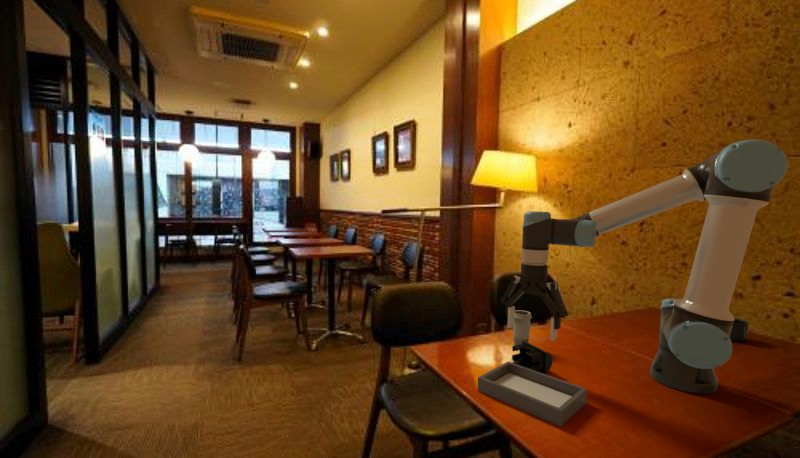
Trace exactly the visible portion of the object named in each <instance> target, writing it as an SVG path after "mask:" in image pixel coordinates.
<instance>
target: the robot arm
mask: <svg viewBox="0 0 800 458" xmlns="http://www.w3.org/2000/svg"><path fill="white" fill-rule="evenodd" d="M787 170H788V158H787V156H786V154H785V152H784V151H783V150H782V149H781V148H780V147H779V146H777V145H776V144H774V143H773V142H770V141H767V140H763V139H744V140H741V141H740V140H739V141H736V142H733V143H730V144H729V145H727V146H725V147H724V148H722V149H721V150H719V151H717V152H716V153H714V154H712V155H711V156H709V157H708V158H706V159H704V160H702V161H701V162H699V163H697V164H694V165H693V166H690V167H688V168H685V169H684V170H683V172H682V174H680V175H678V176H676V177H674V178H671V179H668V180H666V181H664V182H660V183H659V184H655V185H653V186H650V187H649V188H646V189H643V190H642V191H639V192H637V193H634V194H631V195H629V196H626V197H624V198H621V199H619V200H616V201H614V202H612V203H608V204H606V205H603V206H602V207H599V208H597V209H594V210H592V211H589V212H587V213H584V214H582V215H580V216H576V217H574V218H570V219H569V218H567V219H566V218H565V219H562V218H552V215H551V212H549V211H538V210H534V211H533V210H532V211H529V210H528V211H526V212H525V213H524V215H523V223H522V237H521V238H522V239H521V241H522V242H521V257H520V261H521V262H522V263H521V264H520V276H518V275H512V276H511V277H510V280H509V281H510V282H509V284H508V286H507V288H506V289H505V292H504V294H503V295H502V297H501V299H500V304H503V305H504V306H505V317H507V324H506V325H507V326H506V327H507V328H508V329H511V328H513V327H514V315H515V311H516V306H515V305H514V304H515V303H516V302H517V301H518V300H520V299H521V297H522V296H524V294H525V293H526V294H528V295H530V294H531V295H533V296H538V297H539V298H540V299H542V301H543V303H544V304H545V306H546V307H547V309H548V311H549V312H550V313H551V314H552V317H550V330H549V331H550V333H549V341H552V342H553V341H554V340H556V339H557V337H558V335H557V333H558V330H559V329H561V322H562V321H561V320H562V319H565V318H566V317H567V316H569V313H568V311H567V308H566V305H565V303H564V300H563V298H562V295H561V292H560V291H559V283H558V282H548V273H549V271H548V270H549V266H548V265H547V264H548V262H549V248H550V245H551V246H553V245H554V246H556V245H558V246H569V247H579V248H585V247H586V248H592V247H594V246H595V244H596V240H597V238H596V237H598V236H600V235H603V234H605V233H608V232H611V231H614V230H616V229H620V228H622V227H625V226H628V225H630V224H633V223H636V222H638V221H642V220H644V219H647V218H649V217H652V216H654V215H657V214H660V213H663V212H665V211H668V210H672V209H675V208H676V207H679V206H683V205H684V204H687V203H690V202H693V201H699V202H704V201H707V202H708V204H709V206H708V209H707V212H706V216H705V219H704V222H703V227H702V231H701V234H700V238H699V242H698V244H697V248H696V252H695V256H694V260H693V264H692V267H691V270H690V274H689V278H688V283H687V285H686V288H685V289H686V290H685V293H684V296H683V297H682V298H681V299H679V298H665V299H662V301H661V306H660V307H659V308H660V309H659V310H660V324H659V340H658V341H659V345H658V350H657V352H656V353H655V356H654V358H653V360H652V363H651V365H650V372H649V373H650V376H651V377H652V379H654V380H655V381H657V382H659V383H660V384H662V385H664V386H666V387H669V388H672V389H675V390H679V391H682V392H687V393H692V394H698V395H699V394H701V395H707V394H714V393H716V392H717V391H718V388H719V387H718V386H719V380H718V377H717V373H716V372H715V371H716V370H715V368H718V367H721V366H722V365H725V363H727V362H728V361H729V360H730V358H731V356H732V354H733V344H732V342H733V341H731V340H730V338H729V337H730V333H731V330H732V326H733V323H734V319H735V317H734V315H733V314H732V312H730V310H729V309H730V304H731V302H732V298H733V295H734V291H735V288H736V285H737V281H738V278H739V274H740V271H741V267H742V263H743V260H744V258H745V254H746V251H747V248H748V243H749V241H750V240H749V239H750V236H751V232H752V230H753V227H754V223H755V220H756V216H757V214H758V211H759V210H760V209H762V208H764V207H765V206H767V205H769V204H770V202H771V198H772V194H773V192H774V191H773V190H774V187H775V186H776V185H778V184H779V182H781V180H782V179H783V178H784V177H785V175H786V172H787ZM518 284H520V285H521V287H519V289H518V290H517V291H516V292H515V293H514V294H513V292H514V291H515V290H516V289H515V288H516V287H517V285H518ZM547 288H548V290H549V291H550V293H551V297H552V298H551V297H550V295H549V292H548V290H547Z"/></svg>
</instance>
